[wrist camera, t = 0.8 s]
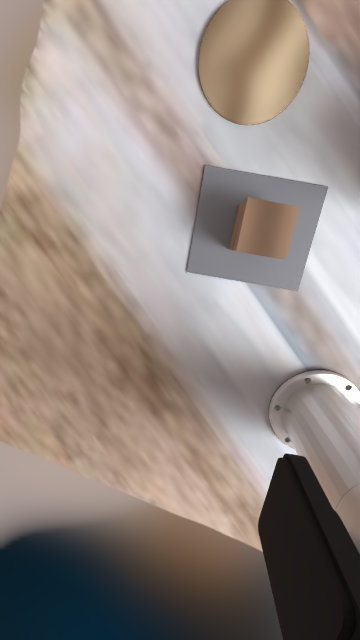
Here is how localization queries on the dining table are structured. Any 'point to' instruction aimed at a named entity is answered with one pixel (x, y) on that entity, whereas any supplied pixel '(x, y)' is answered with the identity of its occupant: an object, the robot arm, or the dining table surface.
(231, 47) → the coaster
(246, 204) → the walnut block
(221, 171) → the gray tile
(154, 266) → the dining table surface
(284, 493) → the robot arm
